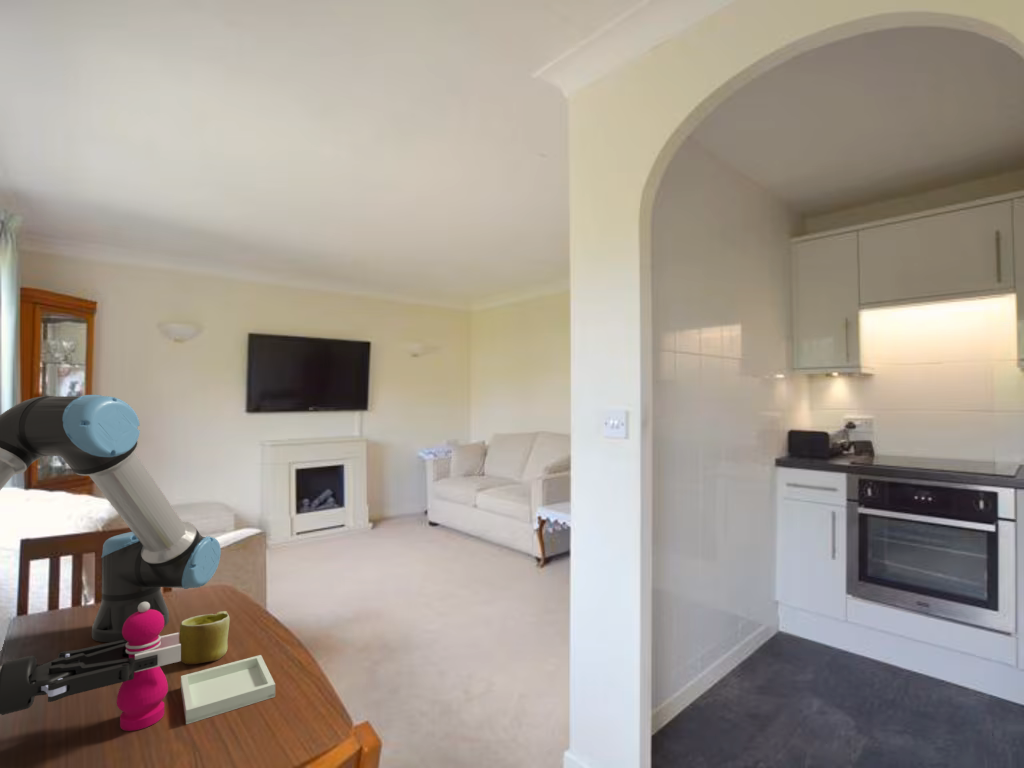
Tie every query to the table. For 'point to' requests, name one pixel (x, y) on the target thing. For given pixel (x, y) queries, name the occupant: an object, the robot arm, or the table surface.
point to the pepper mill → (142, 672)
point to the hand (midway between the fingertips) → (179, 646)
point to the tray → (226, 688)
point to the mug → (204, 638)
